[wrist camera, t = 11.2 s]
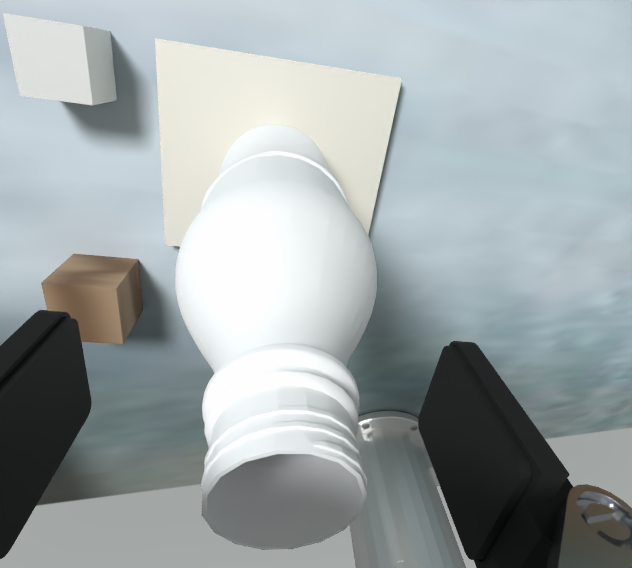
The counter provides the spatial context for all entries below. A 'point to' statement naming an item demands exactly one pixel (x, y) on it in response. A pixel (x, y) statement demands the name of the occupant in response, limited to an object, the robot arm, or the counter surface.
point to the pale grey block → (61, 60)
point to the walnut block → (97, 295)
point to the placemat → (265, 121)
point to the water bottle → (278, 341)
